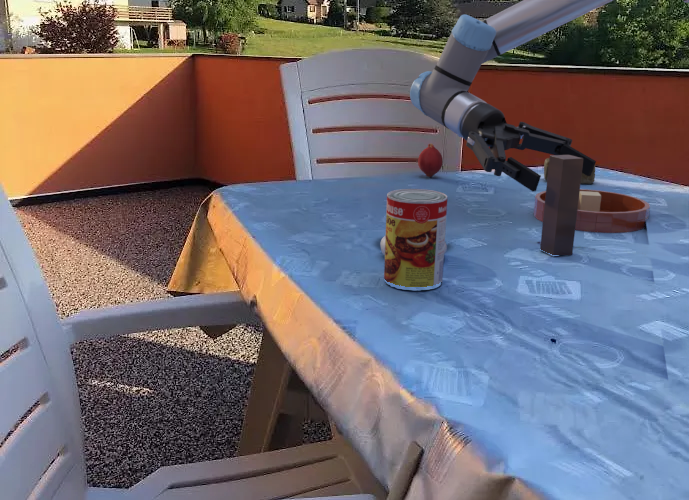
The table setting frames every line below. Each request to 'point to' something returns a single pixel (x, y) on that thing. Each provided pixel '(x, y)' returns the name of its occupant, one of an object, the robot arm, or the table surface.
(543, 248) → the stick
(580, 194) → the block
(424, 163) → the onion
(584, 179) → the stone block
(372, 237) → the table surface
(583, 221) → the bowl
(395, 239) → the canned food
